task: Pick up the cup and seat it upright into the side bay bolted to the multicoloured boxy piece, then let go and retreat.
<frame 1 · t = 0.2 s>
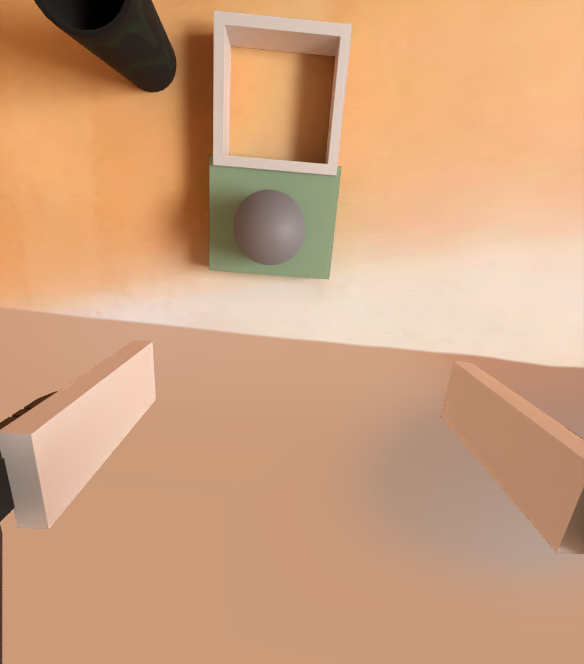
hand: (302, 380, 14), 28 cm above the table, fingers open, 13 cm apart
cup: (150, 62, 34), on the table
multicoloured boxy piece: (273, 221, 38), on the table
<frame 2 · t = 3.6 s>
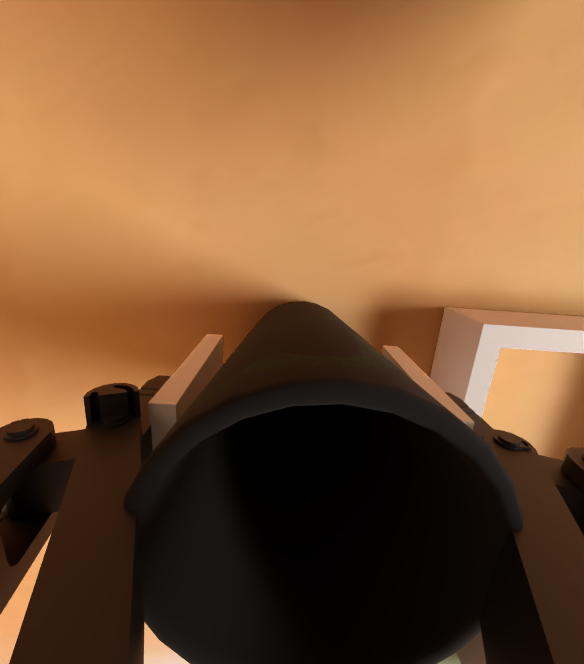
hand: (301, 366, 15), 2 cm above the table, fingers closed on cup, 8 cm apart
cup: (299, 349, 18), on the table, touching gripper
multicoloured boxy piece: (482, 565, 22), on the table
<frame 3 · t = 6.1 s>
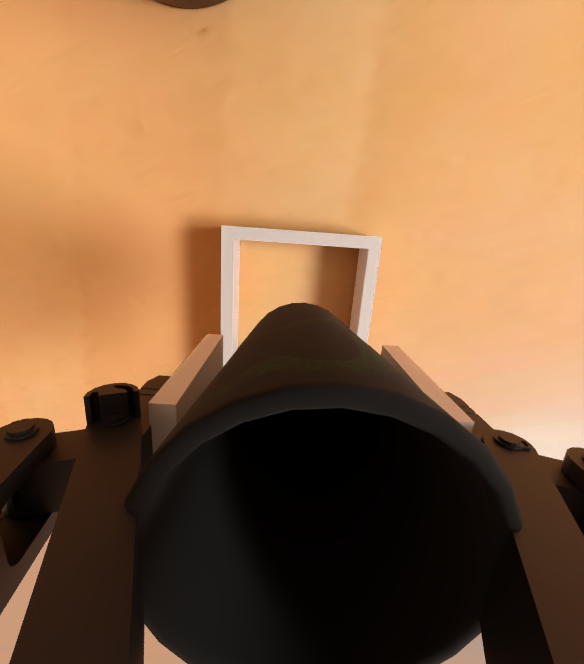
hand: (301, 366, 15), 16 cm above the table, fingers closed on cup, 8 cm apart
cup: (299, 350, 18), point 14 cm above the table, touching gripper
multicoloured boxy piece: (287, 407, 34), on the table
when the fingers open (5 cm above the table, at t = 8.5 s): cup drops 2 cm, resting in multicoloured boxy piece.
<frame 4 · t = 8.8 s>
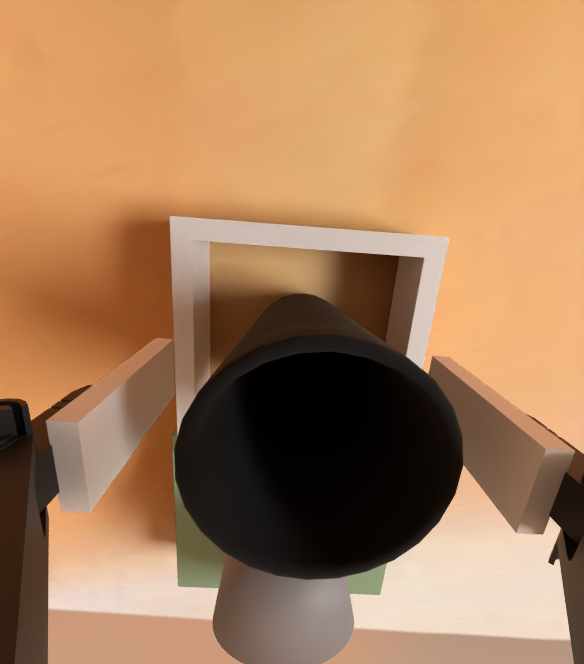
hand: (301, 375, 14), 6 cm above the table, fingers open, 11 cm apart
cup: (300, 336, 20), resting in multicoloured boxy piece
multicoloured boxy piece: (286, 487, 23), on the table
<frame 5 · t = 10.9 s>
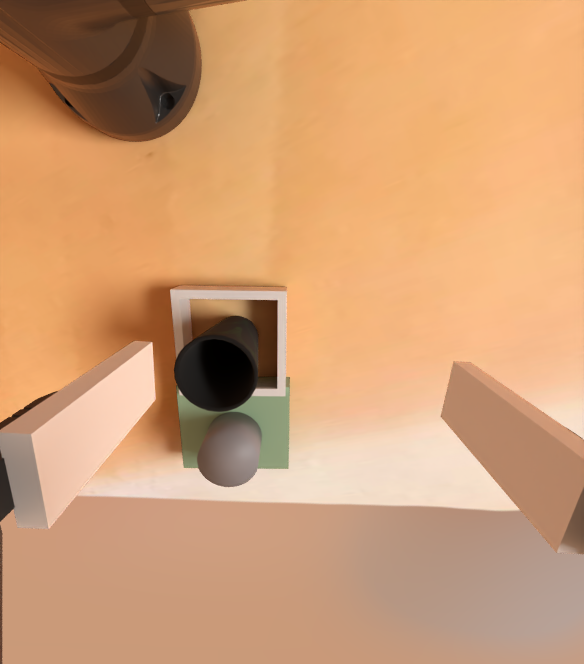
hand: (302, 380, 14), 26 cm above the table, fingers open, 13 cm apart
cup: (237, 336, 41), resting in multicoloured boxy piece
multicoloured boxy piece: (238, 416, 44), on the table
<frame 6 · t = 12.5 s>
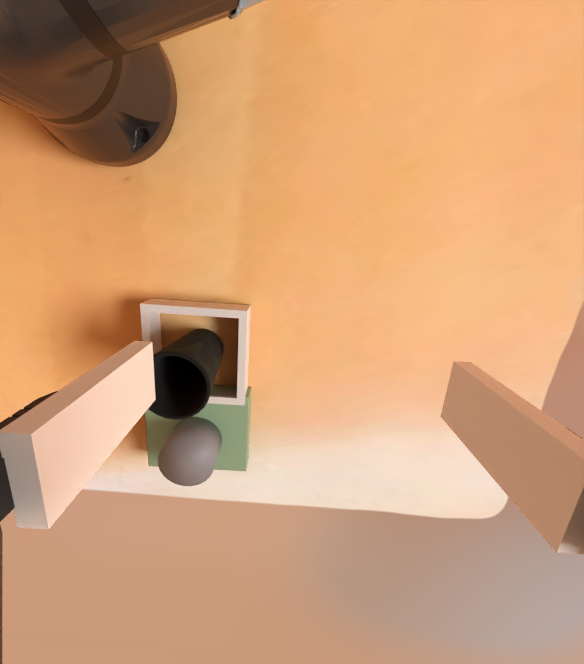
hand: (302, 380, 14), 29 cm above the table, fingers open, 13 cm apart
cup: (203, 347, 44), resting in multicoloured boxy piece
multicoloured boxy piece: (202, 420, 47), on the table
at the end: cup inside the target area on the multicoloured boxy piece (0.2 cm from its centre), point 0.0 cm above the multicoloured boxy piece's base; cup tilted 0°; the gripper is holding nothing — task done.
